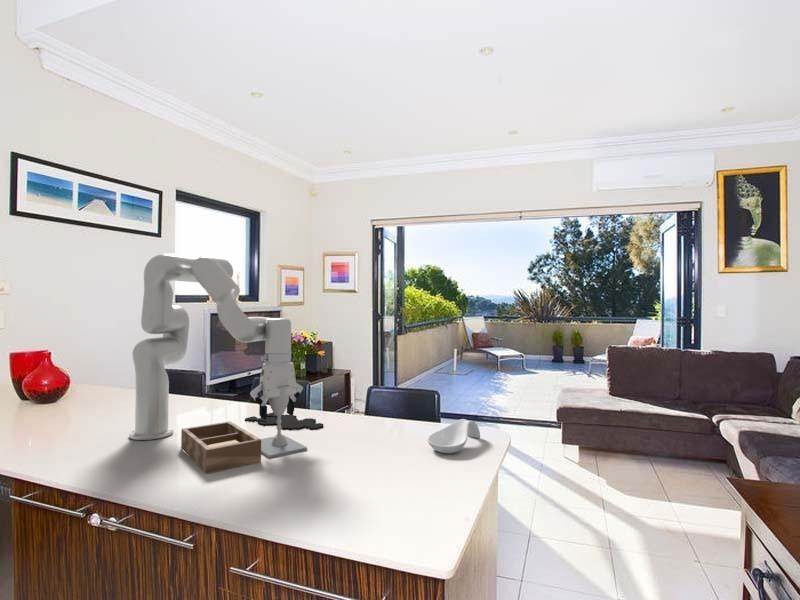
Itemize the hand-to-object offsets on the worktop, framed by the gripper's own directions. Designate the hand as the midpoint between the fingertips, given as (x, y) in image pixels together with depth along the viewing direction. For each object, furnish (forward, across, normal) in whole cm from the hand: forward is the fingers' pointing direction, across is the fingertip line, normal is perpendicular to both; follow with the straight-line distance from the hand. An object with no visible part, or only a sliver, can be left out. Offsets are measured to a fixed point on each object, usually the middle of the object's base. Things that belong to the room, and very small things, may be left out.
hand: (277, 415), depth 139 cm
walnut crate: (+9, -16, +3) cm, 19 cm away
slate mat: (+9, 0, 0) cm, 9 cm away
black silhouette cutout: (+10, +15, +24) cm, 30 cm away
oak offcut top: (+8, -16, -2) cm, 18 cm away
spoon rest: (+10, +45, -32) cm, 56 cm away
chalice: (+9, +1, 0) cm, 9 cm away
